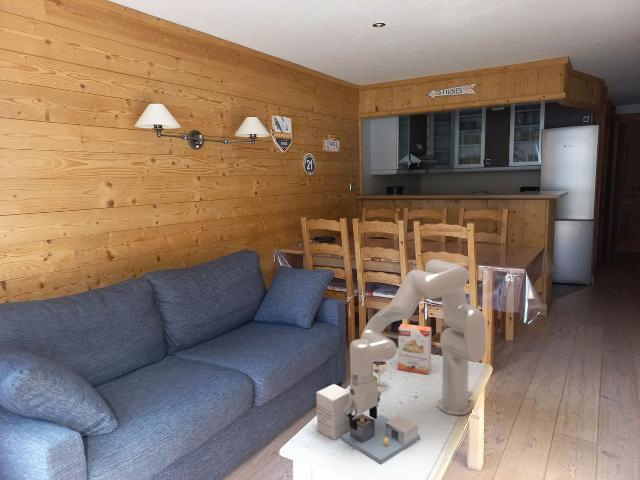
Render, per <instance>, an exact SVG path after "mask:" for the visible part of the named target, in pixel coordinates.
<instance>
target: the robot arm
mask: <svg viewBox="0 0 640 480" xmlns="http://www.w3.org/2000/svg"><path fill="white" fill-rule="evenodd" d="M424 269H425V271H424V270H421V269H420V270H419V269H412V270H410V271H408V273H407V274H406V275H405V277H404V278H403V281H402V283H401V284H400V286H399V288H398V290H397V291H396V293H395V294H394V297H393V298H392V299H391V302H390V303H389V304H388V305H386V306H385V307H383V308H382V309H381V310H379V311H377V313H375V314H373V316H372V317H371V318H370V319H369V320H368V322H367V324H366V325H365V328H364V329H363V331H362V333H361V335H360V338H358V339H354V340H352V341H351V342H350V343H349V344H350V345H349V355H350V378H349V382H350V383H349V390H348V391H349V403H348V404H347V406H346V407H345V408H344V409H343V411H344V413H345V415H346V416H348V417H349V424H350V428H352V429H354V430H357V429H358V428H357V419H356V417H357V416H358V415H360V414H364V413H366V412H367V411H368V412H369V413H368V414H369V416H368V417H370V418H372V419H377V416H378V407H379V402H380V401H381V395H382V391H381V392H380V391H377V386H378V385H377V384H376V380H375V378H374V377H373V375H374V372H373V362H374V361H385V360H386V361H390V360H391V359H393V358H394V357H395V356H396V354H397V352H398V351H397V348H398V347H397V345H396V343H395V342H394V341H393V340H392V339H390V338H389V337H387V336H385V335H383V334H382V333H383V331H384V330H385V329H387V326H390V325H391V324H392V323H394V322H397V321H401V320H406V319H410V318H412V316H413V315H414V313H415V311H416V309H417V308H418V307H419V303H420V302H421V301H422V299H423V298H427V299H430V300H435V299H440V298H441V305H442V317H443V321H444V323H445V324H446V325H447V326H450V327H447V328H445V329H444V330H443V331H442V333H441V335H440V340H439V341H440V342H439V343H440V348H441V354H442V375H441V376H442V377H441V379H442V381H441V382H442V383H441V384H442V385H441V387H442V389H441V391H442V392H441V398H439V400H438V402H437V407H438V408H439V410H441V412H444V414H445V413H446V414H448V415H451V416H453V415H454V416H465V415H468V414H470V413H471V412H472V404H471V403H470V402H469V398H470V397H472V396H473V394H474V393H473V392H472V391H471V390H469V368H470V367H469V366H470V365H469V362H471V363H478V362H480V361H482V360H483V358H484V357H485V355H486V352H487V329H486V328H487V326H486V319H485V316H484V314H483V312H482V311H481V310H480V309H478V308H476V307H474V306H471V305H468V303H467V297H466V289H465V286H466V285H467V283H468V281H469V278H470V277H469V276H470V275H469V272H468V270H467V268H466V267H464V266H463V265H462V264H461V265H460V264H458V263H452V262H450V261H445V260H443V259H430V260H428V261H427V262H426V264H425V266H424Z"/></svg>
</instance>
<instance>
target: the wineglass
mask: <svg viewBox="0 0 640 480" xmlns="http://www.w3.org/2000/svg"><path fill="white" fill-rule="evenodd" d="M387 370H388V360H385V361H374V362H373V374H376V375H378V376H377V378H378V385H377V391H380V392H381V393H382V392H385V390H386V387H385V386H382V385H381V375H383V374H385V373H386V372H387Z"/></svg>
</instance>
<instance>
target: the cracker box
mask: <svg viewBox="0 0 640 480" xmlns="http://www.w3.org/2000/svg"><path fill="white" fill-rule="evenodd" d="M397 339H398V342H397V343H398V347H397V348H398V351H397V352H398V354H397V357H398V358H397V363H398V364H397V370H398V371H402V372H403V371H404V372H409V373H410V372H411V373H416V374H423V375H429V373H430V372H431V364H432V327H431V326H426V325H425V326H424V325H423V326H422V325H416V324H415V325H414V324H408V323H407V324H406V323H401V324H400V326H399V327H398V338H397Z"/></svg>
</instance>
